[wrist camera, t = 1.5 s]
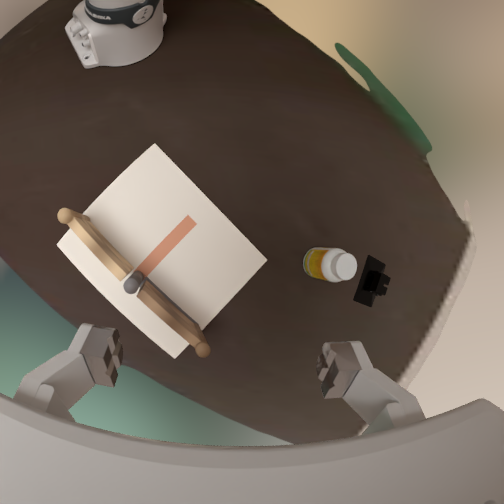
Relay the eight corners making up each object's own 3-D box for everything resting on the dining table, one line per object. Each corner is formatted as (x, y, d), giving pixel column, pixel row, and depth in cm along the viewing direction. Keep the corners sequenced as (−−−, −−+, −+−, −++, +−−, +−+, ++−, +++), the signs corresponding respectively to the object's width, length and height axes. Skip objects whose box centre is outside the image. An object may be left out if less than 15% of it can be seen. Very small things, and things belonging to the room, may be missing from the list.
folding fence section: (77, 221, 37) (54, 215, 27) (85, 212, 37) (64, 204, 28) (127, 275, 40) (117, 284, 30) (135, 266, 40) (127, 273, 30)
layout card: (57, 244, 36) (56, 244, 36) (154, 144, 41) (154, 143, 40) (174, 357, 43) (174, 358, 42) (266, 259, 47) (267, 259, 47)
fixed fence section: (129, 276, 40) (120, 286, 30) (137, 268, 40) (130, 275, 31) (194, 335, 43) (203, 360, 34) (201, 327, 44) (213, 350, 34)
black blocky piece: (369, 315, 55) (383, 319, 51) (345, 305, 53) (359, 310, 49) (388, 259, 56) (403, 260, 52) (365, 246, 54) (380, 246, 50)
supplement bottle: (323, 243, 50) (356, 243, 41) (330, 271, 51) (364, 277, 42) (298, 252, 49) (328, 255, 40) (306, 282, 49) (337, 290, 40)
